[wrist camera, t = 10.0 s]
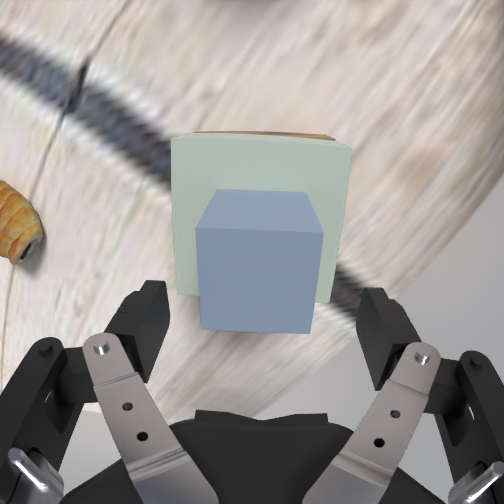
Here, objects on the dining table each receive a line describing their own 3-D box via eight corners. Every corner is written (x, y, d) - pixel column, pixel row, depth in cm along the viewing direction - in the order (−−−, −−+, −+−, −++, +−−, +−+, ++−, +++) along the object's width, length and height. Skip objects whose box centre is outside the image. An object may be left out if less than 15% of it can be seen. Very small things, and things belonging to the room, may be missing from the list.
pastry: (-19, 204, 27) (-40, 215, 23) (2, 161, 25) (-22, 169, 21) (28, 262, 30) (9, 279, 26) (53, 224, 28) (32, 239, 24)
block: (306, 192, 18) (323, 232, 12) (299, 271, 20) (309, 333, 15) (216, 189, 18) (195, 227, 13) (218, 268, 20) (201, 329, 15)
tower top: (336, 141, 20) (352, 148, 17) (320, 273, 25) (329, 302, 21) (187, 132, 21) (170, 138, 17) (189, 266, 25) (177, 294, 21)
